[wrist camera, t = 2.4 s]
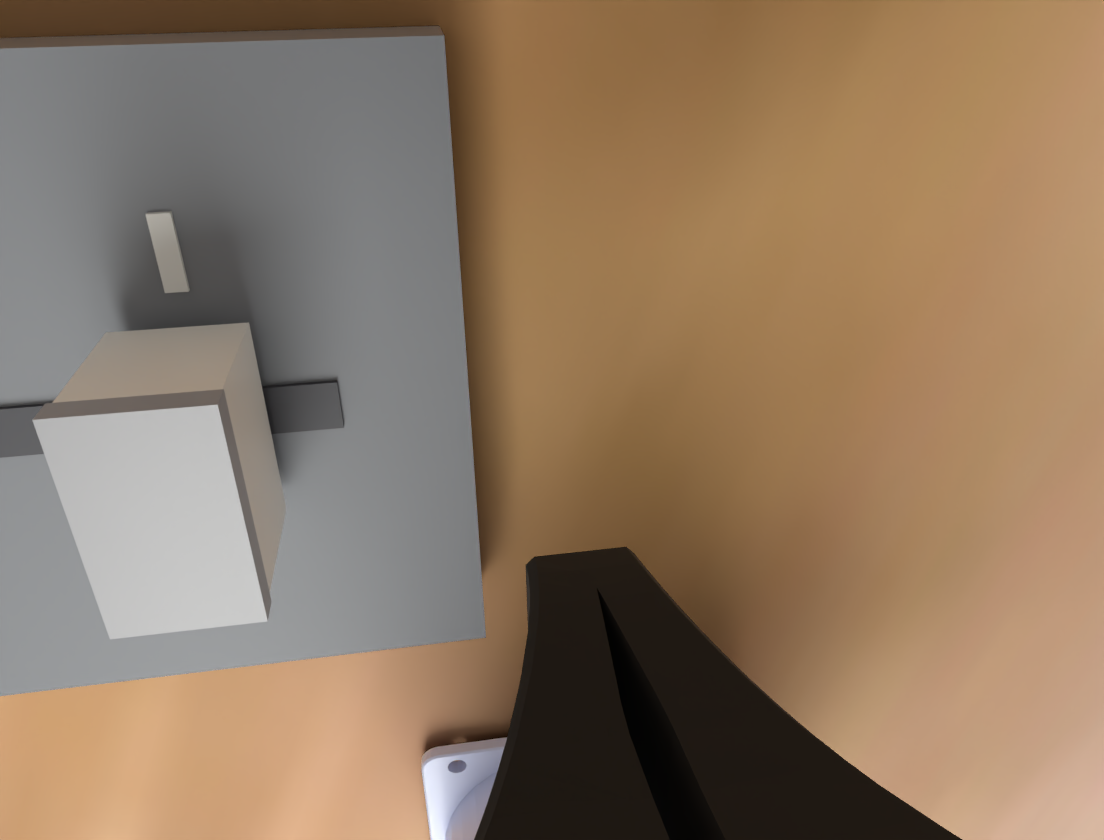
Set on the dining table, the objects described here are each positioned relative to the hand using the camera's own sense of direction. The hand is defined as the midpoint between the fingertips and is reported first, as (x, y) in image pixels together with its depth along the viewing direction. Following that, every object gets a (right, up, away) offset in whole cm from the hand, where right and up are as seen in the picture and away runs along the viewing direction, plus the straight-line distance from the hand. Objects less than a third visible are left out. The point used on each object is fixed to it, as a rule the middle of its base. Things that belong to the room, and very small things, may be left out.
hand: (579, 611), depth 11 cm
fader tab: (-7, +2, +5) cm, 9 cm away
